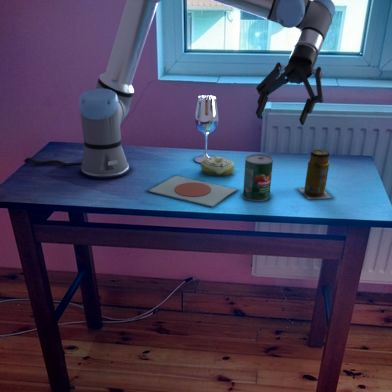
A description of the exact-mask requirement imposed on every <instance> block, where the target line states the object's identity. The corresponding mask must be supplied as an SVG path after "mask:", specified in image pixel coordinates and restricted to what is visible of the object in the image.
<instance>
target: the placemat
mask: <svg viewBox="0 0 392 392" xmlns="http://www.w3.org/2000/svg"><path fill="white" fill-rule="evenodd" d="M147 191H148V192H149V193H153V194H157V195H160V196H164V197H169V198H173V199H176V200H181V201H185V202H189V203H193V204H198V205H201V206H206V207H209V208H213V207H214V206H216V205H217V204H219V203H221V202H222V201H224V200H225V199H227V198H228V197H230V196H231V195H233V194H234V193H236V192H237V191H238V189H237V188H233V187H229V186H225V185H220V184H216V183H210V182H206V181H201V180H198V179H194V178H189V177H184V176H180V175H174V176H172V177H171V178H169V179H167V180H165V181H163V182H161V183H159V184H158V185H156V186H153V187H152V188H150V189H148V190H147Z"/></svg>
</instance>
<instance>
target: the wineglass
mask: <svg viewBox="0 0 392 392" xmlns="http://www.w3.org/2000/svg"><path fill="white" fill-rule="evenodd" d="M194 113H195V114H194V125H195V128H196V130H197V131H198V132H199V133H201V134H203V135H204V155H199V156H196V157H195V158H194V161H195V162H196V163H199V164H201V161H202V160H204V159H206V158H209V157H213V156H212V155H209V154H208V137H209V135H210V134H212V133H213V132H214V131H216V129H217V128H218V126H219V110H218V103H217V98H216V96H215V95H209V94H206V95H205V94H204V95H199V96H198V98H197V102H196V106H195V112H194Z"/></svg>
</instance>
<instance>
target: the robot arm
mask: <svg viewBox="0 0 392 392" xmlns="http://www.w3.org/2000/svg"><path fill="white" fill-rule="evenodd" d="M162 1H163V0H126V2H125V5H124V9H123V12H122V15H121V19H120V22H119V25H118V29H117V32H116V36H115V39H114V42H113V46H112V50H111V53H110V56H109V60H108V63H107V67H106V70H105V72H103V73H101V74H100V75H99V76H98V79H97V82H96V86H95V88H92V89H89V90H86V91H84V92H82V94H81V95H80V96H79V99H78V100H79V101H78V102H79V103H78V104H79V105H78V109H79V113H80V120H81V129H82V138H83V144H84V145H83V146H84V149H83V154H82V160H81V162H80V161H79V162H64V161H62V160H57V159H51V160H36V159H34V158H33V157H26V158H25V159H24V160H23V163H27V162H32V163H33V164H36V165H48V164H59V165H62V166H64V167H75V166H77V167H78V166H80V170H81V174H82V175H83V176H85V177H86V178H90V179H96V180H109V179H111V180H112V179H116V178H120V177H123V176H125V175H127V174H128V173H129V172H130V164H129V161H128V160H127V157H126V154H125V150H124V149H123V146H122V134H121V133H122V132H121V124H122V123H123V122H124V121H125V119H126V118H127V117H128V116H129V114H130V111H131V102H132V100H133V96H134V94H135V89H134V87H133V80H134V78H135V75H136V71H137V68H138V66H139V63H140V60H141V57H142V54H143V50H144V47H145V43H146V41H147V37H148V35H149V32H150V29H151V26H152V23H153V20H154V17H155V13H156V10H157V8H158V4H159V3H160V2H162ZM212 1H213V2H216V3H219V4H222V5H225V6H227V7H230V8H233V9H236V10H239V11H242V12H245V13H247V14H251V15H254V16H257V17H260V18H261V19H265V20H268V21H271V22H273V23H275V24H278V25H280V26H281V27H283V28H286V29H291V28H296V29H298V30H300V31H299V33H298V36H297V39H296V41H295V42H294V46H293V48H292V51H291V54H290V55H289V58H288V62H287V64H286V65H283V64H281V62H279V61H278V62H276V64H275V66H274V68H273V69H272V70H271V71H270V73H268V75H266V76H265V77H264V79H262V80H261V82H260V83H258V85H257V86H256V87H255V89H256V92H257V94H258V95H259V96H258V99H257V102H256V103H257V105H258V106H257V108H256V111H255V115H256V117H257V118H258V119H262V115H263V113H264V111H265V108H266V105H267V103H268V100H269V97H268V96H270V95H271V94H272V93H274V92H276V91H277V90H278V89H279V88H281V87H282V86H285V85H287V84H288V83H289V84H297V85H301V84H302V83H303V86H304V88H305V90H306V92H307V95H308V98H307V99H306V101H305V103H304V106H303V109H302V111H301V114H300V116H299V118H298V120H299V122H300V125H301V126H304V125H305V123H306V120H307V118H308V115H310V114H311V113H312V112H313V110H314V108H315V106H316V104H317V103H319V104H322V103H324V95H323V87H322V77H323V71H322V67H321V66H317V68H314V67H315V65H316V63H317V60H318V57H319V55H320V53H321V50H322V48H323V44H324V42H325V39H326V38H327V37H326V36H327V34H328V32H329V30H330V27H331V25H332V23H333V20H334V16H335V13H336V5H335V3H334V2H333V0H212ZM311 76H313V78H314V79H315V86H316V94H317V95H315V93H314V91H313V88H312V86H311V83H310V81H309V78H310V77H311Z"/></svg>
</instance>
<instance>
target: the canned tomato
mask: <svg viewBox="0 0 392 392" xmlns="http://www.w3.org/2000/svg"><path fill="white" fill-rule="evenodd" d="M244 159H245V160H244V173H243V174H244V176H243V189H242V190H243V194H242V197H243V198H244V199H245V200H247V201H249V202H265V201H267V200H269V199H270V197H271V184H272V175H273V163H274V158H273V157H272V156H270V155H267V154H261V153H255V154H249V155H246V156H245V158H244Z"/></svg>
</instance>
